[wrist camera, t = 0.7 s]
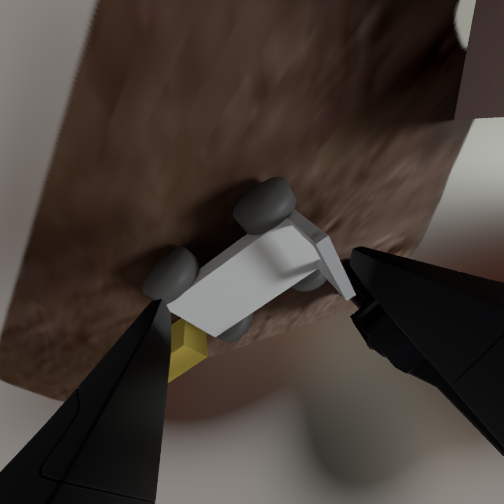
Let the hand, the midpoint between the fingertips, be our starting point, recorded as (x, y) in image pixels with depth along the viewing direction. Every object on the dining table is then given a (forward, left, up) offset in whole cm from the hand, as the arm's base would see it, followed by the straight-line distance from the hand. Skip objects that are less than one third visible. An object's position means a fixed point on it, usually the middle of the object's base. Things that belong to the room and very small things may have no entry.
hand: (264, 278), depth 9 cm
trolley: (-7, +3, -14) cm, 16 cm away
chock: (-12, +19, -14) cm, 27 cm away
